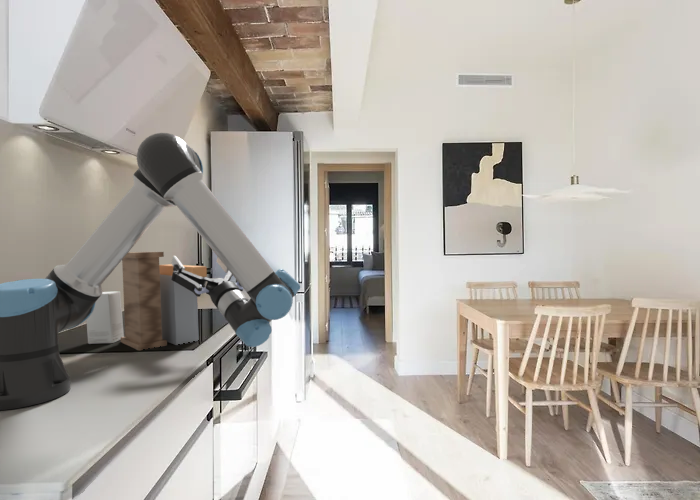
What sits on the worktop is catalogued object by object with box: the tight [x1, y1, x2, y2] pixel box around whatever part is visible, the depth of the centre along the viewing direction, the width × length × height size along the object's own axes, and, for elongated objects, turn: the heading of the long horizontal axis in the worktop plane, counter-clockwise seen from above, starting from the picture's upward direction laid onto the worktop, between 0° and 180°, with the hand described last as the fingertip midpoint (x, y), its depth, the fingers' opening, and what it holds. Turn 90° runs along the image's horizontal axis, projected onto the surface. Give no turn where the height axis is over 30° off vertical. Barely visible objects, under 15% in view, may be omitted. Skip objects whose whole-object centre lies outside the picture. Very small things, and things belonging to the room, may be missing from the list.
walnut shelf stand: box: [120, 251, 168, 351], centre depth 133 cm, size 8×16×28 cm, turn 44°
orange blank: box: [159, 263, 208, 277], centre depth 134 cm, size 4×26×3 cm, turn 44°
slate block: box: [160, 274, 200, 346], centre depth 138 cm, size 7×16×20 cm, turn 44°
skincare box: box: [85, 290, 125, 345], centre depth 137 cm, size 8×7×16 cm
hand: (196, 258), depth 127 cm, fingers open, 13 cm apart
